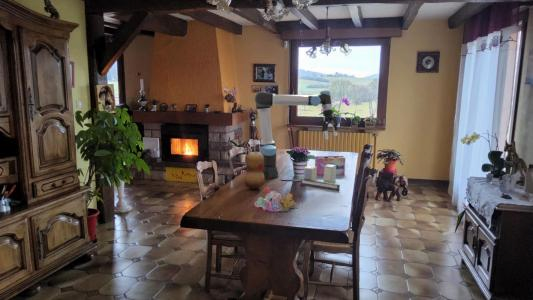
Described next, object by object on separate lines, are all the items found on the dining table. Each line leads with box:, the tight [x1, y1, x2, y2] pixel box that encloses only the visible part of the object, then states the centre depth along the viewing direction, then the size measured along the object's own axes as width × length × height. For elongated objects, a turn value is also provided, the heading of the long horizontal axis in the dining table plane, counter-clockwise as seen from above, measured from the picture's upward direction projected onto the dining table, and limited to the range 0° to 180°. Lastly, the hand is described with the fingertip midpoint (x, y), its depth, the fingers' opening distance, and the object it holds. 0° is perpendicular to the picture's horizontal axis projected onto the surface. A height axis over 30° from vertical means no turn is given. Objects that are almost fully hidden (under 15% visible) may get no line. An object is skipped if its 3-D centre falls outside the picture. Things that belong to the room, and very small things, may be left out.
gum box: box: [314, 155, 346, 176], centre depth 298 cm, size 24×8×14 cm, turn 98°
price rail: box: [300, 178, 341, 192], centre depth 257 cm, size 28×2×4 cm, turn 58°
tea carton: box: [323, 164, 337, 184], centre depth 273 cm, size 8×6×12 cm
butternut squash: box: [243, 151, 265, 190], centre depth 250 cm, size 14×13×25 cm
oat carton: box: [303, 165, 318, 181], centre depth 267 cm, size 8×6×12 cm
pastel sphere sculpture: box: [254, 186, 297, 213], centre depth 217 cm, size 25×24×9 cm
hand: (331, 137), depth 286 cm, fingers open, 13 cm apart
